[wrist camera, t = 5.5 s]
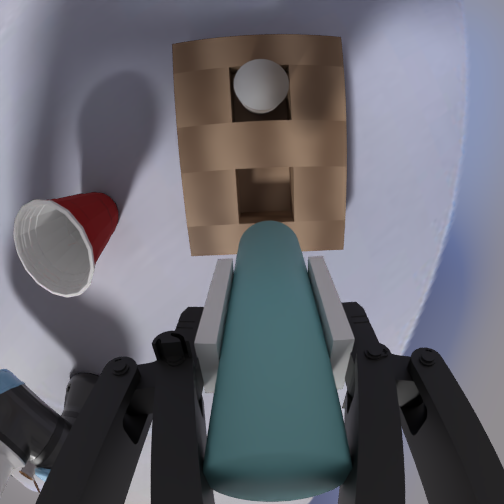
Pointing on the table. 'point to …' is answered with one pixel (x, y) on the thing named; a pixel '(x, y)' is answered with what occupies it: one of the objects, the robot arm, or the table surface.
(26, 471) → the coffee pot
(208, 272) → the table surface
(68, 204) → the plastic cup
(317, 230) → the bore block
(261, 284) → the teal peg
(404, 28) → the table surface
